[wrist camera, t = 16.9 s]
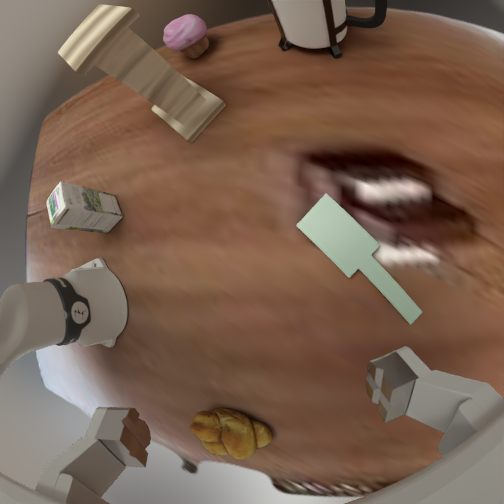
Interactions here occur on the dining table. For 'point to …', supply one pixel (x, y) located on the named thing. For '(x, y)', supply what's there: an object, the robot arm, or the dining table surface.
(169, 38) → the cupcake
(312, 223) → the spatula
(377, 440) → the dining table surface
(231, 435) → the bread roll
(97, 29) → the stand
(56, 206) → the syrup box
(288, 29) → the coffee press
